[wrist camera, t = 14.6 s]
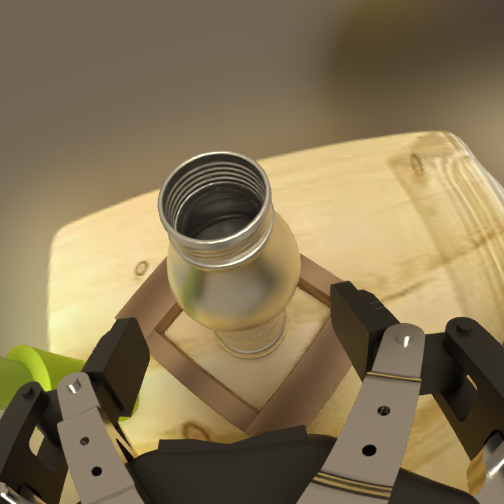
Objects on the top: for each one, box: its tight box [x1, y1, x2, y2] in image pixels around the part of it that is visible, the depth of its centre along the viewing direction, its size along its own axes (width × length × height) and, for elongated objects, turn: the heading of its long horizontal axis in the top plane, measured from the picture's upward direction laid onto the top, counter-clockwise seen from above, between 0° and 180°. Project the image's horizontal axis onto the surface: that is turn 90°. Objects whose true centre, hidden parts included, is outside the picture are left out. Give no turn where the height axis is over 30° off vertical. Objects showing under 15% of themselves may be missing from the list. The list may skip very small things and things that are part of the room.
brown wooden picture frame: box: [115, 254, 352, 437], centre depth 25 cm, size 20×16×2 cm
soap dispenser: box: [0, 345, 139, 430], centre depth 15 cm, size 6×7×20 cm
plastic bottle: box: [158, 150, 301, 359], centre depth 17 cm, size 6×7×20 cm
